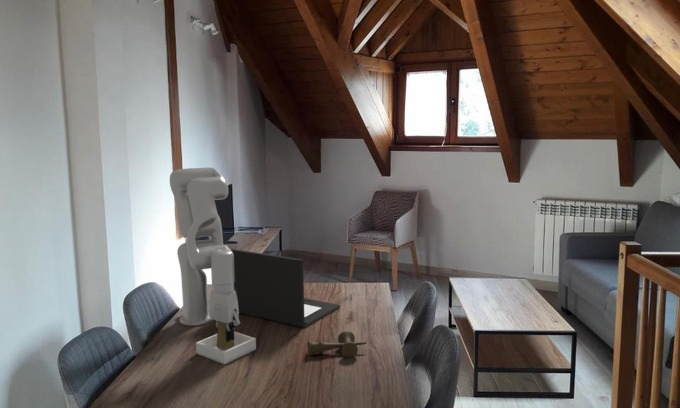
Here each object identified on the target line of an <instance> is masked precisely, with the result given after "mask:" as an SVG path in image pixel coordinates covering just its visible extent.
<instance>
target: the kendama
mask: <svg viewBox="0 0 680 408" xmlns="http://www.w3.org/2000/svg"><path fill="white" fill-rule="evenodd" d="M355 338H356V337H355V335H354V333H353V332H352V331H347V330H345V331H342V332H341V333H339V334H338V336H337V342H326V341H323V340H322V339H321V340H319V341H312V340H310V339H309V340H308V341H307V346H306V347H307V353H308V356H309V357H311V356H313V355H314V354H321V355H323V354H324V353H325V352H327V351H331V350H335V349H340V350H341V354H342V356H343V357H344V358H346V359H350V358H351V359H352V358H354V357H357V355H358V352H359V348H358V346H362V345H366V344H367V342H366V341H359V342H357V341H356V339H355ZM355 341H356V342H355Z"/></svg>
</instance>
